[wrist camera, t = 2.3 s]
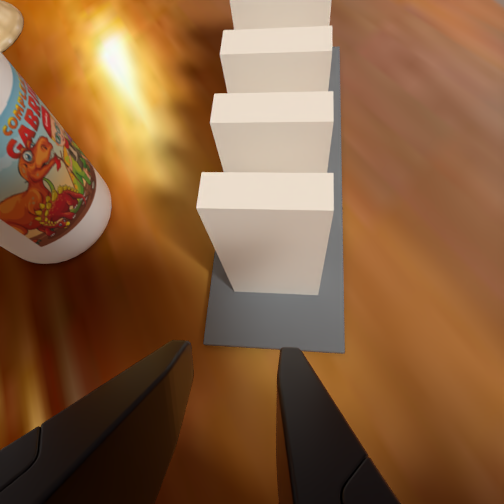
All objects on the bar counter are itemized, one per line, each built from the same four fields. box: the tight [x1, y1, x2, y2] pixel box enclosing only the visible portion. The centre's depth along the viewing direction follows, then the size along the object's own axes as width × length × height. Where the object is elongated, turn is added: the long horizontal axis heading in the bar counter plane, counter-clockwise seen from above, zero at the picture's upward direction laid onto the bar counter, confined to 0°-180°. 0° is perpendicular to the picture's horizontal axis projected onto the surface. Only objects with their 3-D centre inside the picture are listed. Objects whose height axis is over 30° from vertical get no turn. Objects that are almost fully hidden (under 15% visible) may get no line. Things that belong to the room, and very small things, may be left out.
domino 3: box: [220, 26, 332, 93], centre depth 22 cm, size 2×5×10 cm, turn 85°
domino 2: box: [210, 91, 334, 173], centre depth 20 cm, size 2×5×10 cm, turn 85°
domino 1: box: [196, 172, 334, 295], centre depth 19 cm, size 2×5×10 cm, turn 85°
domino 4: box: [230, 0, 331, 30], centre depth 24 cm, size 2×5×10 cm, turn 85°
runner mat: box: [203, 47, 345, 354], centre depth 27 cm, size 24×8×1 cm, turn 176°
